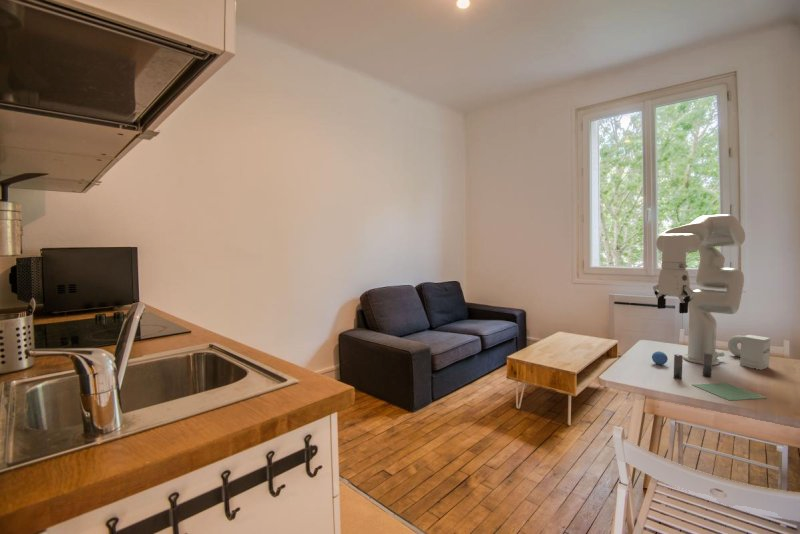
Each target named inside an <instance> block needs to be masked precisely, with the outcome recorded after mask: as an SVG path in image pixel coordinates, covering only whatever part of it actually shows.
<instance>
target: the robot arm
mask: <svg viewBox="0 0 800 534" xmlns="http://www.w3.org/2000/svg"><path fill="white" fill-rule="evenodd" d="M745 240H746V232H745V230H744V228H743V226H742V225H741V223H740V221H739V220H738V218H736V216H734V215H732V214H728V213H725V214H724V213H722V214H711V215H710V214H707V215H706V214H705V215H700V216H699V217H697V218H695V219H694V220H693V221H691V222H690V223H688V224H684V225H681V226H677V227H672V228H669V229H666V230H665V231H663V232H662V233H661V234H659V236H658V237H657V238H656V241H655V244H656V248H657V251H658V252H661V269H660V271H659V276H658V281H657V282H658V283H657V284H656V285H653V286H652V289H653V291H654V292H653V293H654V295H655V297H656V299H657V304H656V305H657V309H659V310H660V309H666V308H667V307H666V304H667V302H666V300H667V299H666V296H668V297H675V298H678V299H679V301H680V302H678V303H679V306H678V312H679V314H687V313H688V336H687V339H688V340H687V342H688V343H687V354H683V355H682V356H683V360H685V361H688V362H691V363H694V364H701V365H703V358H704V353H709V354H712V366H714V365H715V366H716V365H719V364H720V363H721V361H720V359H718V357H722V358H723V357H725V356H726V355H725V352H723V351H716V347H717V328H718V327H717V326H718V323H717V321H716V318H715V317H714V315H712V313H716V314H722V315H723V314H725V315H734V314H736V313H738V311H739V309H740V304H741V302H742V301H741V300H742V294H743V288H744V285H745V284H744V283H745V276H744V273H743V271H742V270H741V269H738V268H736V267H735V268H734V267H724V266H725V262H726V259H725V256H724V255H723V253H722V252H721V251H720V250H718V249H717V248H716V247H731V248H732V247H740V246H742V245H743V244H744V242H745ZM697 251H698V253H699V256H700V258H699V259H700V260H699V265H698V269H697V274H696V279H695V283H696V285H697V286H698V287H699V288H700V289H699V288H698V289H691V287H690V286H691V285H690V276H689V272H688V270H687V268H688V264H687V254H691V253H695V252H697ZM702 288H704V289H702Z"/></svg>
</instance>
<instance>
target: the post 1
mask: <svg viewBox="0 0 800 534" xmlns="http://www.w3.org/2000/svg"><path fill="white" fill-rule="evenodd" d="M683 356H684V355H682V354H674V356H673V359H674V360H673V379H675V380H680V381H681V380H682V379H683V360H684V358H683Z"/></svg>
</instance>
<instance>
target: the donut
mask: <svg viewBox="0 0 800 534" xmlns="http://www.w3.org/2000/svg"><path fill="white" fill-rule="evenodd" d="M742 336H743V335H733V336H731V337H730V338H729V340H728V341H727V349H728V350H729V352H730V353H731V354H732V355H734V356H736V357H737V358H740V354H741V348H739V346H738V345H739V344H741V337H742Z"/></svg>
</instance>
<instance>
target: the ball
mask: <svg viewBox="0 0 800 534" xmlns="http://www.w3.org/2000/svg"><path fill="white" fill-rule="evenodd" d="M651 359H652V361H653V362H654V364H656V365H658V366H659V365H660V366H662V365H665V364H666V363H667V362H668V360H669V359H668V356H667V354H666V353H665V352H663V351H660V350H659V351H655V352H653V353H652V355H651Z"/></svg>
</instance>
